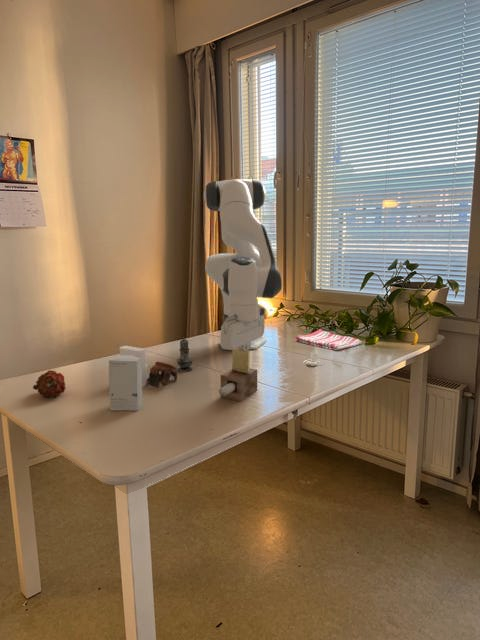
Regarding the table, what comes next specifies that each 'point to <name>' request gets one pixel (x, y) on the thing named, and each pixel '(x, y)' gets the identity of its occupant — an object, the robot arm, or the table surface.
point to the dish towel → (328, 340)
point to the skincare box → (125, 383)
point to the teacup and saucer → (313, 359)
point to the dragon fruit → (50, 384)
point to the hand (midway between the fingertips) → (243, 357)
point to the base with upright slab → (141, 352)
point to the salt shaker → (184, 357)
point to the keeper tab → (240, 361)
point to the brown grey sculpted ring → (164, 376)
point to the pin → (228, 388)
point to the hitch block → (240, 383)
